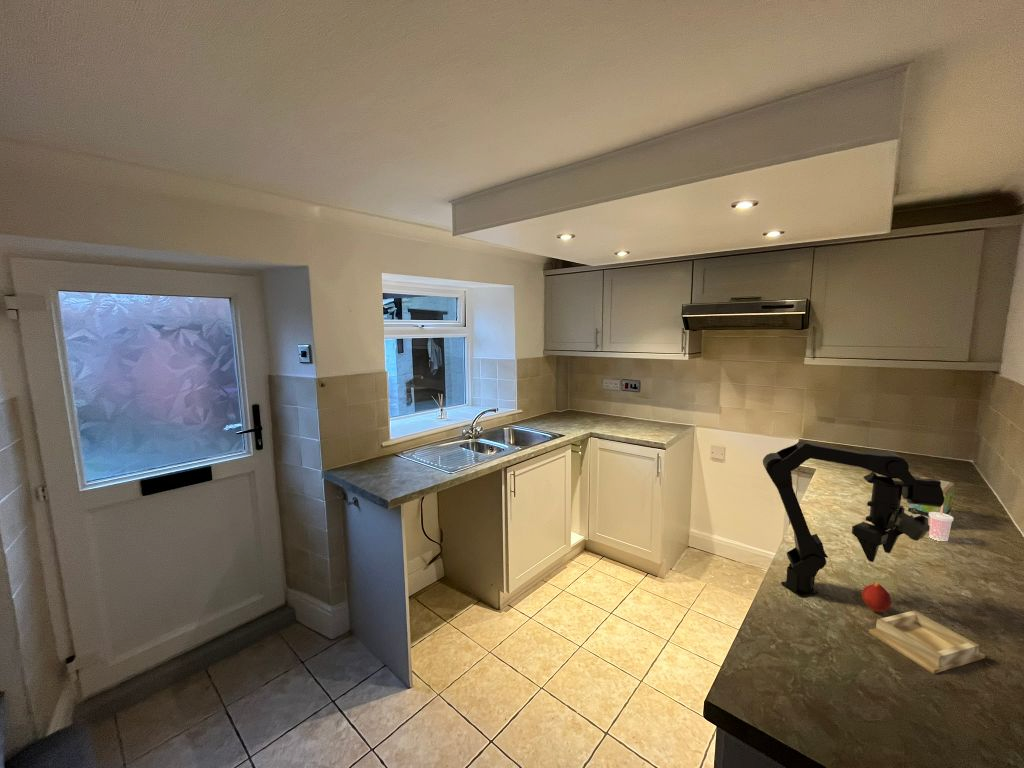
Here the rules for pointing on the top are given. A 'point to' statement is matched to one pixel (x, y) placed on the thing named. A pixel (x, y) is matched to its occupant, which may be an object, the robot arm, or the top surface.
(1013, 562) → the top surface
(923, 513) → the tea box
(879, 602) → the onion
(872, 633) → the tray
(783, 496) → the robot arm
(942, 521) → the beverage cup
